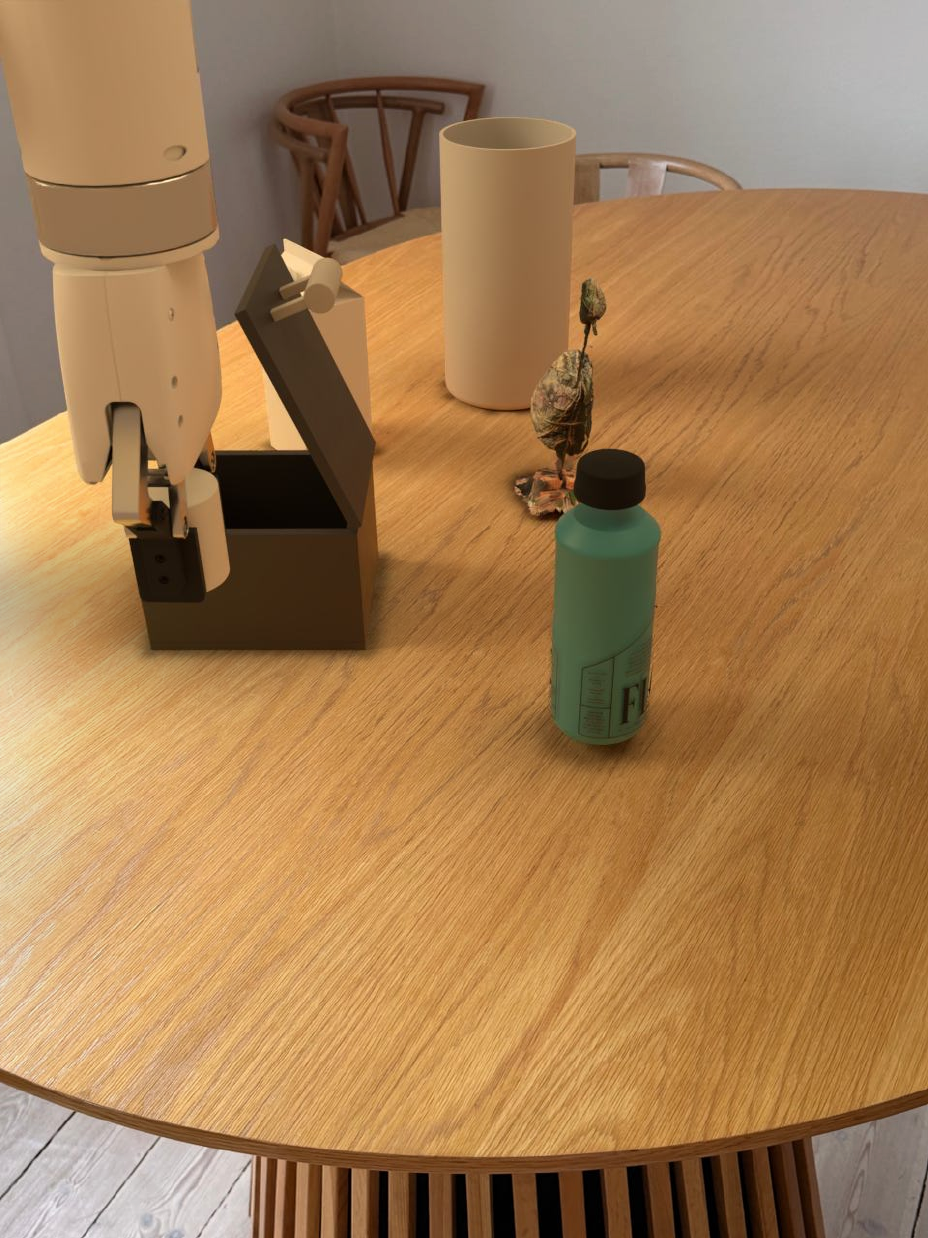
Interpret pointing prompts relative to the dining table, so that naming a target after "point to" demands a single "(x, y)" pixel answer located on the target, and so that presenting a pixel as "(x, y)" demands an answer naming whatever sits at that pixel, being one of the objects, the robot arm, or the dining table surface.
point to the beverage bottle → (604, 602)
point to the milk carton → (343, 340)
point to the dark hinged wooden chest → (279, 564)
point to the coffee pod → (204, 522)
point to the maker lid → (309, 373)
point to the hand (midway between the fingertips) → (185, 567)
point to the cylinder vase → (505, 255)
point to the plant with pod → (564, 415)
